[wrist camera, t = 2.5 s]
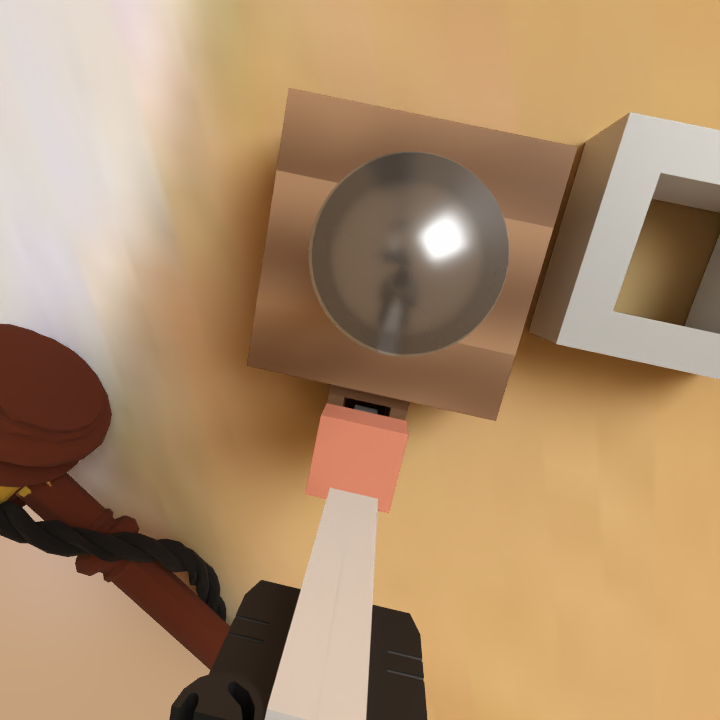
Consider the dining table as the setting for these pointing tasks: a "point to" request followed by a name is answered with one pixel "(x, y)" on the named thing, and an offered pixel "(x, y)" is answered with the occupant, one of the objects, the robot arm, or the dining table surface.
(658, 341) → the grey square frame
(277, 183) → the socket block
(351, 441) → the key
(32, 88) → the dining table surface
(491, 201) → the peg
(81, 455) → the gavel
